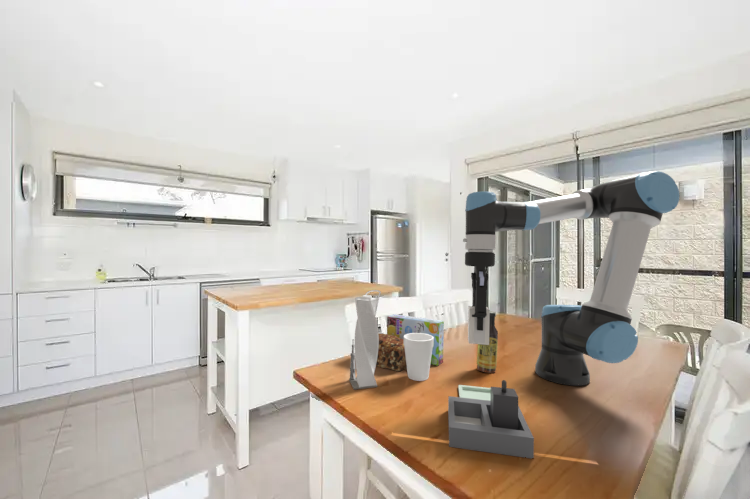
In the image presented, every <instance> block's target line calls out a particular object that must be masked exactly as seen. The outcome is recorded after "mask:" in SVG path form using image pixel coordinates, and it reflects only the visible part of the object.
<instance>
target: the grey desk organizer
mask: <svg viewBox="0 0 750 499" xmlns="http://www.w3.org/2000/svg"><path fill="white" fill-rule="evenodd" d="M507 384H508V382H507V381H506V380H505V379H503V380H501V387H498V386H490V388H491V401H488V400H479V399H470V398H461V397H459V396H449V395H448V401H447V402H448V406H447V407H448V408H447V410H448V412H447V413H448V415H447V416H448V418H447V419H448V447H449V448H456V449H463V450H471V451H476V452H477V451H478V452H485V453H491V454H492V453H493V454H498V455H503V456H505V455H506V456H512V457H520V458H525V457H526V458H525V459H532V458H534V457H535V454H534V453H535V452H534V451H535V450H534V449H535V448H534V447H535V437H534V435H533V433H532V431H531V429H530V427H529V425H528V423H527V421H526V419H525V416H524V414H523V412H522V410H521V408H520V405H519V395H518V394H517V391H516V389H515V388H507Z"/></svg>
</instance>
